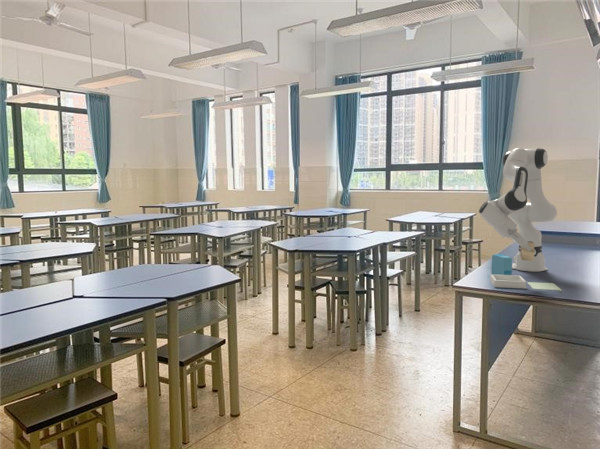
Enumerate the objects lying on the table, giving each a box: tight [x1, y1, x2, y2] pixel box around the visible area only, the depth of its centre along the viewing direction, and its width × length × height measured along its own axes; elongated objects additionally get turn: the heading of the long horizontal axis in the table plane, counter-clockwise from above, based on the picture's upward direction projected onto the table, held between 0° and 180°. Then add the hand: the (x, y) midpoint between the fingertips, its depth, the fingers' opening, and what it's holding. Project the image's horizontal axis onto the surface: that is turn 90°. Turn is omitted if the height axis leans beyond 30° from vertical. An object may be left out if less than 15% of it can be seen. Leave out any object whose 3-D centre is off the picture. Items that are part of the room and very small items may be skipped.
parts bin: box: [489, 273, 527, 289], centre depth 214 cm, size 14×14×4 cm
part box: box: [520, 241, 534, 261], centre depth 211 cm, size 5×5×9 cm
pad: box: [526, 281, 563, 293], centre depth 210 cm, size 14×12×1 cm
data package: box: [491, 253, 513, 275], centre depth 232 cm, size 12×4×12 cm, turn 5°
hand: (528, 248), depth 210 cm, fingers closed on part box, 5 cm apart
